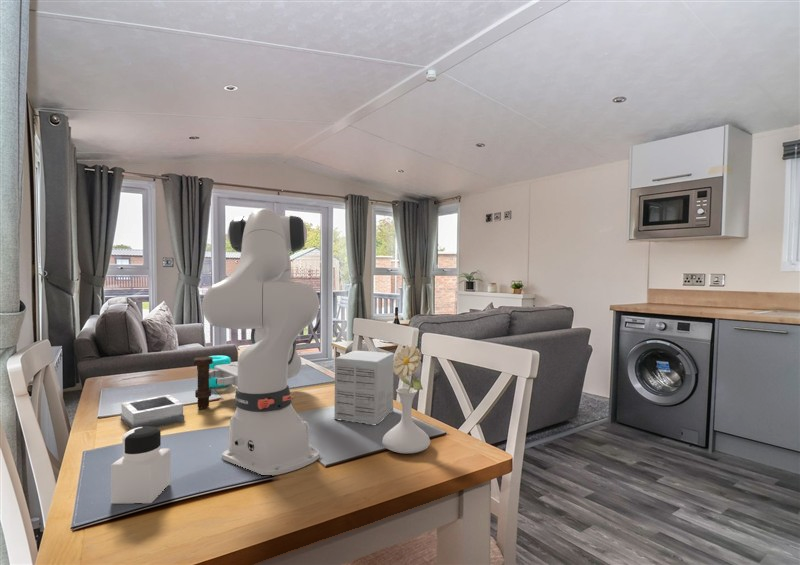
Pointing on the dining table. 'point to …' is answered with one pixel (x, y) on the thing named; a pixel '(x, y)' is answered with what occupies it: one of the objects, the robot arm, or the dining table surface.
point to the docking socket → (152, 412)
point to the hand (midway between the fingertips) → (210, 378)
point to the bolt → (203, 381)
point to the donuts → (216, 361)
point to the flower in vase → (407, 406)
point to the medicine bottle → (140, 468)
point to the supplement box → (364, 386)
